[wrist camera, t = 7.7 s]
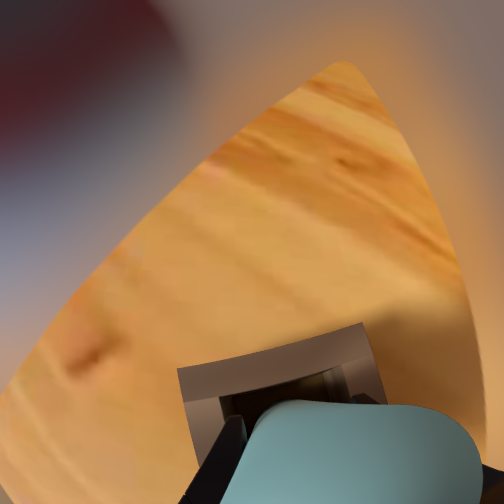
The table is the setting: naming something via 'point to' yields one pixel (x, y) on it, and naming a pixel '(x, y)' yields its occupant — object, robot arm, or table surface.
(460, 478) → the teal cylinder rod
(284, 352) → the hole block
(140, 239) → the table surface
